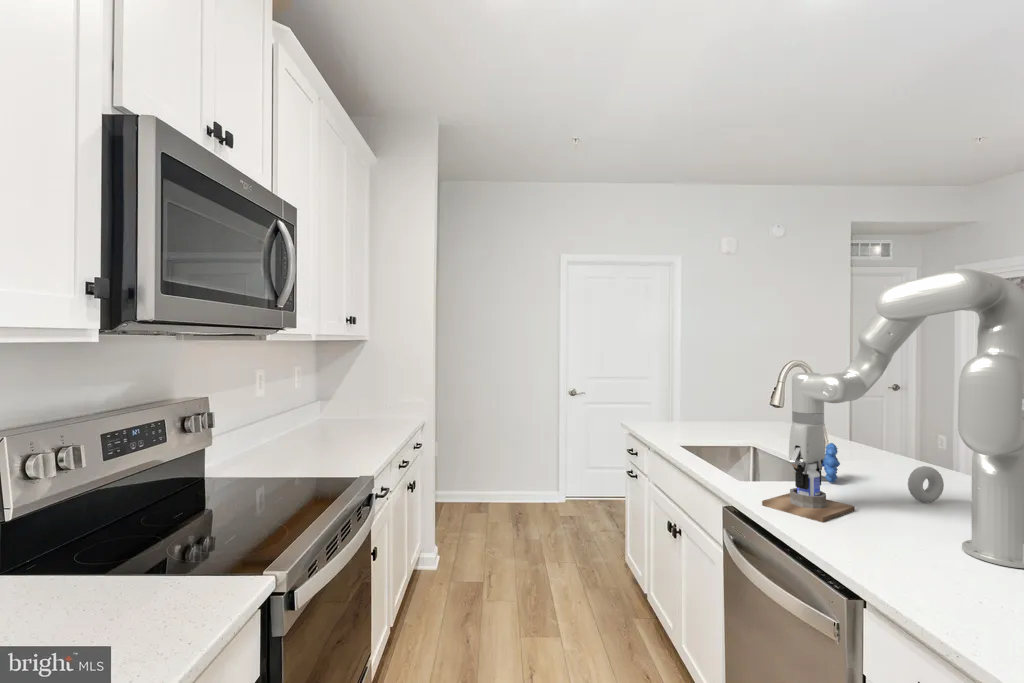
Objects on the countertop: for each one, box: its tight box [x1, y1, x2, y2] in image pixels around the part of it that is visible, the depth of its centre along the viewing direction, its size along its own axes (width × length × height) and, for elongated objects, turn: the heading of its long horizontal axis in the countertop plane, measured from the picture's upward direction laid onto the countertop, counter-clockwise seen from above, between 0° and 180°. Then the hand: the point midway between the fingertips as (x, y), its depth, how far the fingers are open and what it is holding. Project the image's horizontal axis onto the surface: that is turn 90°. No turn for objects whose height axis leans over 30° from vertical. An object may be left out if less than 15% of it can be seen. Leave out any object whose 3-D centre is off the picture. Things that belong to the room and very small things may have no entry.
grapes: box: [822, 442, 841, 484], centre depth 168 cm, size 12×7×12 cm, turn 147°
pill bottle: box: [796, 460, 821, 496], centre depth 142 cm, size 5×5×10 cm
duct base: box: [761, 487, 856, 523], centre depth 142 cm, size 16×16×4 cm
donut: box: [907, 465, 945, 503], centre depth 146 cm, size 10×4×10 cm, turn 99°
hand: (808, 485), depth 142 cm, fingers closed on pill bottle, 5 cm apart
